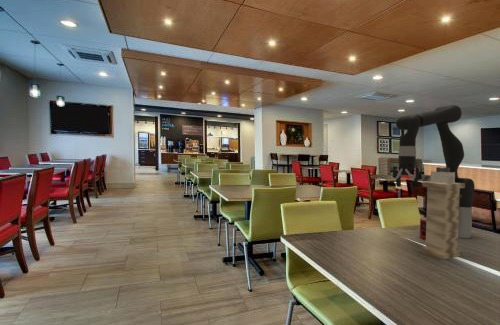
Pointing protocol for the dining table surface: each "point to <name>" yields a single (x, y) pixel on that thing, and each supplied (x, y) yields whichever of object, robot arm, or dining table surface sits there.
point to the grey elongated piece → (440, 176)
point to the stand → (442, 220)
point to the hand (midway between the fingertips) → (406, 187)
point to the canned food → (423, 228)
